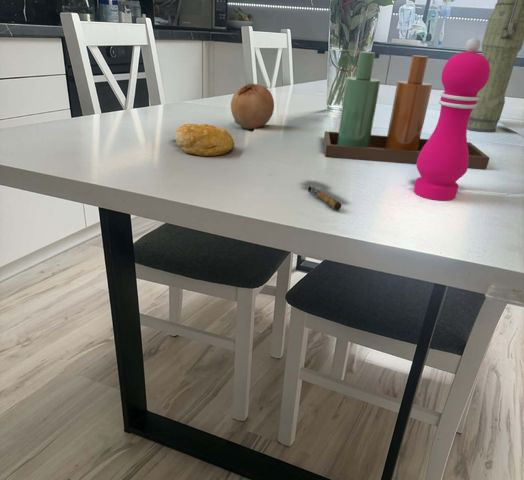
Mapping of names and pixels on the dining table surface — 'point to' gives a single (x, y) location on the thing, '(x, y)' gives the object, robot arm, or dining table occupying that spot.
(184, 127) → the bread roll
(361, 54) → the green bottle
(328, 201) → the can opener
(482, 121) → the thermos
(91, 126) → the dining table surface
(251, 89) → the onion
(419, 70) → the amber bottle
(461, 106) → the pepper mill
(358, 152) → the tray
